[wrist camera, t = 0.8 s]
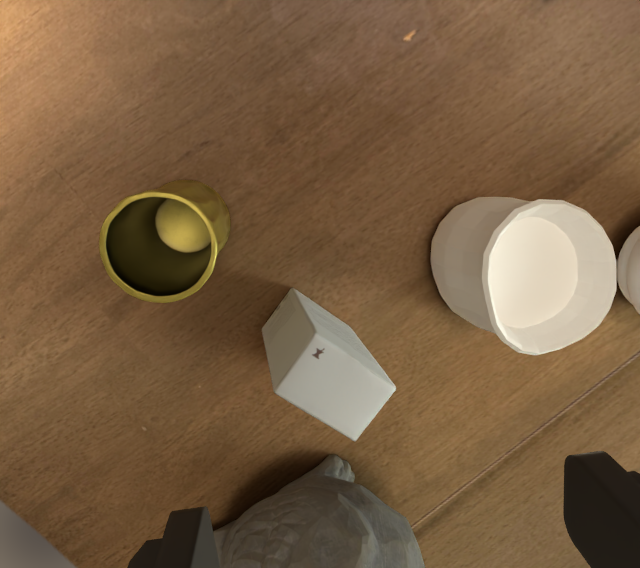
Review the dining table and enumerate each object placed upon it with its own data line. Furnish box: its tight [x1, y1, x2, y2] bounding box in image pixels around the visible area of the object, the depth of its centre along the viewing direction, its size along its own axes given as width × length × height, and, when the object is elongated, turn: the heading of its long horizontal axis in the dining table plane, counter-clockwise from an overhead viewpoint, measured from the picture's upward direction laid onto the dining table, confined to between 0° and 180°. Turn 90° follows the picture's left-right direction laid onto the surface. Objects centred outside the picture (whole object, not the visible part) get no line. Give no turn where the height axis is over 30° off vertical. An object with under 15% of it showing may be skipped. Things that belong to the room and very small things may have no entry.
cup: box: [430, 197, 616, 355], centre depth 36 cm, size 10×10×10 cm
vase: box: [99, 180, 231, 303], centre depth 30 cm, size 6×6×14 cm
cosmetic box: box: [262, 287, 396, 441], centre depth 34 cm, size 6×4×12 cm
